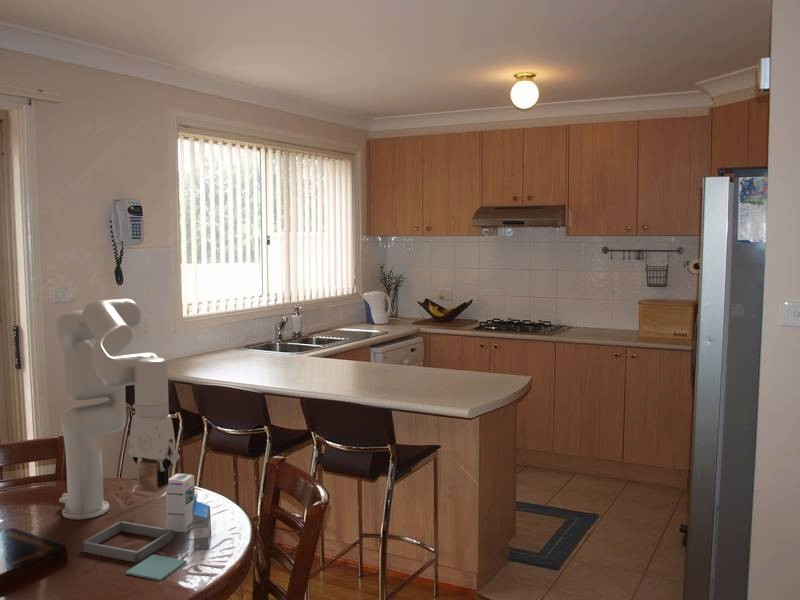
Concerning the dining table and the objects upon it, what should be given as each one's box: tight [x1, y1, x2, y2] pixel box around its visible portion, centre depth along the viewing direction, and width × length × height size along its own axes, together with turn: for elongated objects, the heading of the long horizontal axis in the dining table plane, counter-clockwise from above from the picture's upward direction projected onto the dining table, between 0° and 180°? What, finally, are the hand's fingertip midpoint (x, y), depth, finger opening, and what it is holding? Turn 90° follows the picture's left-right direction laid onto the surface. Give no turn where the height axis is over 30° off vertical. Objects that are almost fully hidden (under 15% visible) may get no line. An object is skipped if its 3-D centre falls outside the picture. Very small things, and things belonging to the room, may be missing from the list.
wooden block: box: [139, 459, 168, 494], centre depth 173 cm, size 4×4×7 cm
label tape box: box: [192, 492, 212, 551], centre depth 189 cm, size 9×4×12 cm, turn 10°
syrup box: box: [165, 473, 196, 534], centre depth 198 cm, size 6×6×14 cm
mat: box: [125, 553, 187, 582], centre depth 175 cm, size 10×10×1 cm
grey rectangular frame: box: [80, 520, 175, 564], centre depth 187 cm, size 17×14×2 cm
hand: (154, 483), depth 173 cm, fingers closed on wooden block, 4 cm apart
